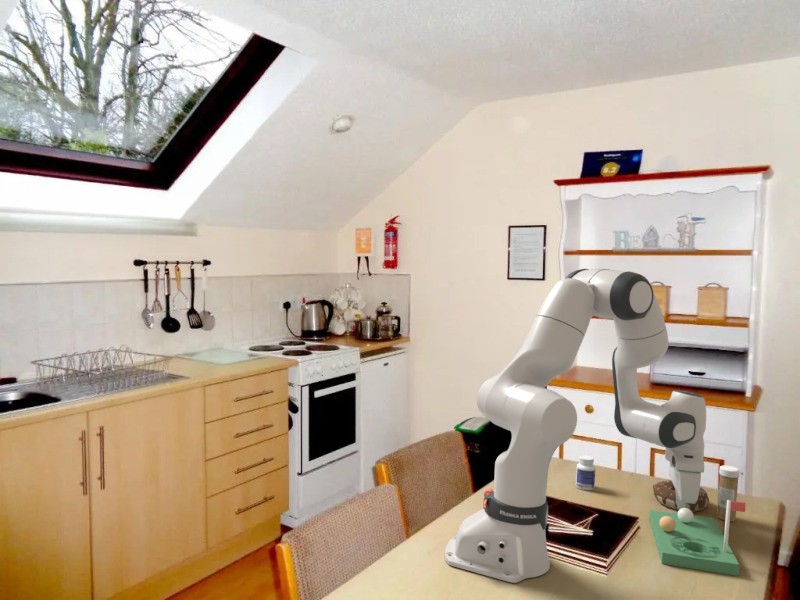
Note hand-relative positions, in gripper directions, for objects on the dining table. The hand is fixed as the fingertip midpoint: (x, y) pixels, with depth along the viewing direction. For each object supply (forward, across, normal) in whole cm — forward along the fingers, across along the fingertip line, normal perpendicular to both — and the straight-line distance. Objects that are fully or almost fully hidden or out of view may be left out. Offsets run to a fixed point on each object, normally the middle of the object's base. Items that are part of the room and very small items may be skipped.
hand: (680, 507), depth 155 cm
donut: (+4, -13, +2) cm, 13 cm away
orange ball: (-1, +14, -5) cm, 15 cm away
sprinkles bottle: (+4, -6, +12) cm, 14 cm away
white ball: (-1, +7, 0) cm, 7 cm away
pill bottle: (+4, -15, -23) cm, 28 cm away
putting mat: (+4, +14, 0) cm, 14 cm away
